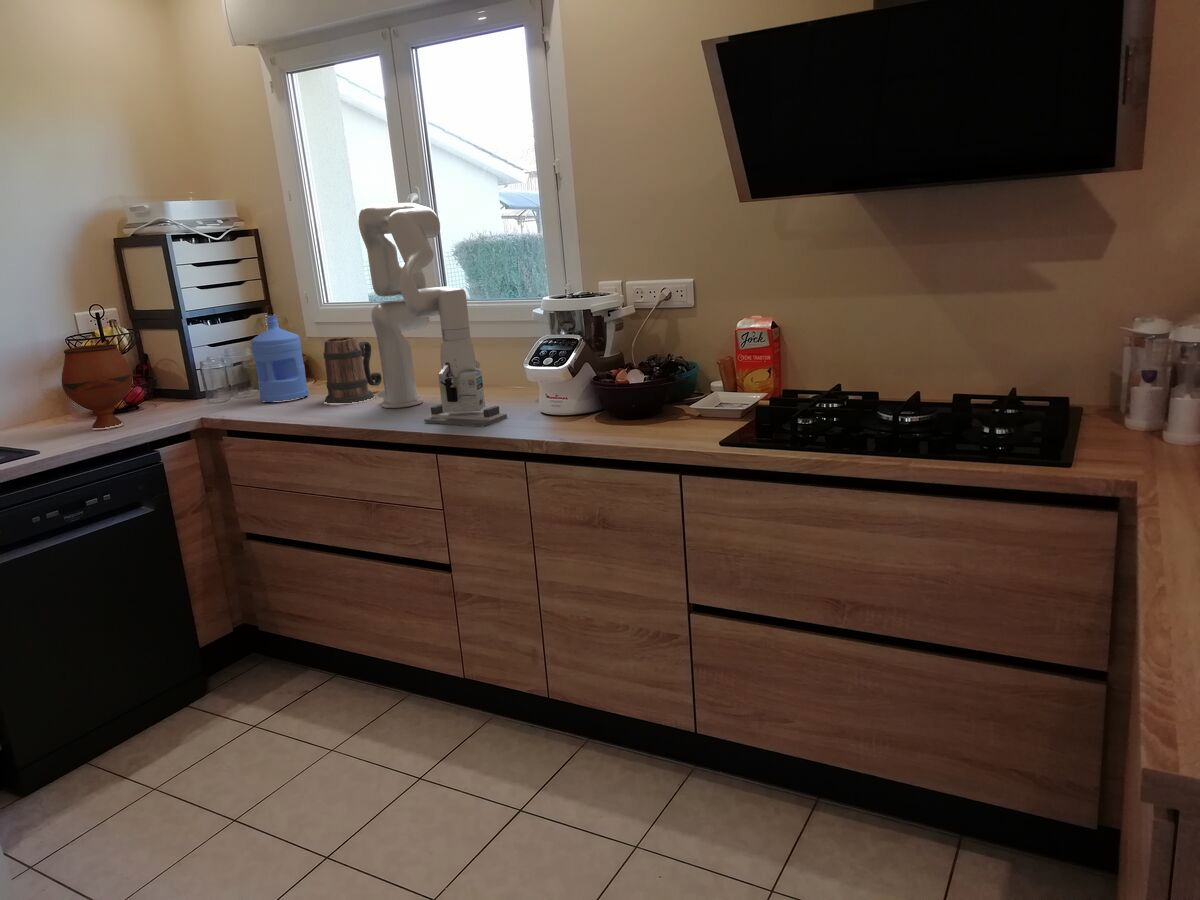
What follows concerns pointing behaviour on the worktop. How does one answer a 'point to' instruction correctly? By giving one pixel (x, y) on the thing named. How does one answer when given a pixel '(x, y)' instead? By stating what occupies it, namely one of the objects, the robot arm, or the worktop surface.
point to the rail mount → (465, 416)
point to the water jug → (279, 364)
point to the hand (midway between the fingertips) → (463, 398)
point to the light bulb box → (465, 393)
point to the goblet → (97, 380)
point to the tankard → (348, 370)
